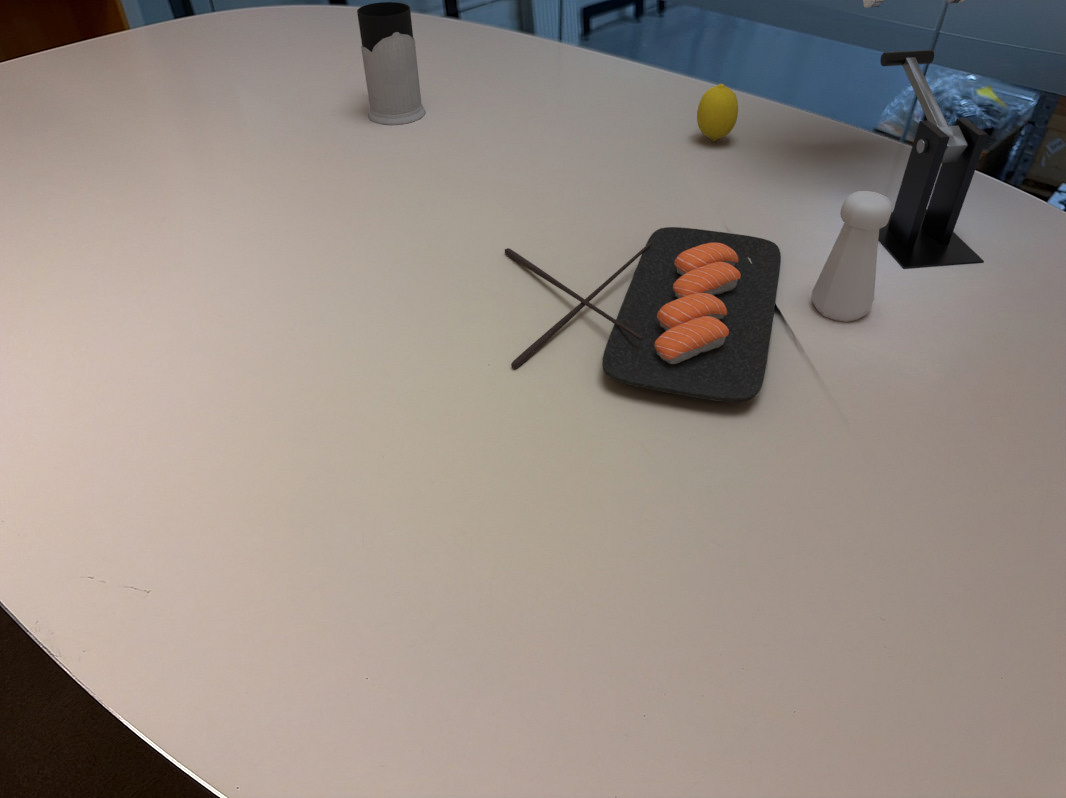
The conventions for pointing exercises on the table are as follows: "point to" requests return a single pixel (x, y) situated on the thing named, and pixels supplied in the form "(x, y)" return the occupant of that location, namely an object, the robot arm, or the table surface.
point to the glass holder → (390, 63)
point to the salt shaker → (853, 259)
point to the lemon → (717, 112)
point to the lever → (927, 97)
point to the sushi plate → (688, 315)
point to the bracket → (933, 201)
